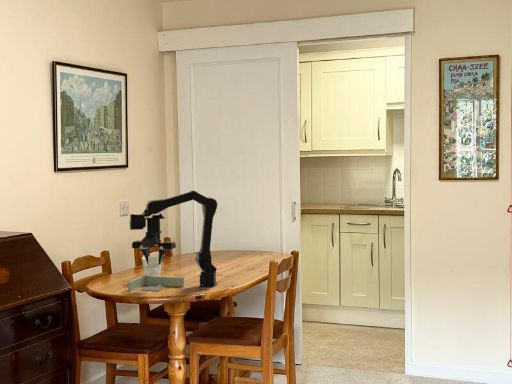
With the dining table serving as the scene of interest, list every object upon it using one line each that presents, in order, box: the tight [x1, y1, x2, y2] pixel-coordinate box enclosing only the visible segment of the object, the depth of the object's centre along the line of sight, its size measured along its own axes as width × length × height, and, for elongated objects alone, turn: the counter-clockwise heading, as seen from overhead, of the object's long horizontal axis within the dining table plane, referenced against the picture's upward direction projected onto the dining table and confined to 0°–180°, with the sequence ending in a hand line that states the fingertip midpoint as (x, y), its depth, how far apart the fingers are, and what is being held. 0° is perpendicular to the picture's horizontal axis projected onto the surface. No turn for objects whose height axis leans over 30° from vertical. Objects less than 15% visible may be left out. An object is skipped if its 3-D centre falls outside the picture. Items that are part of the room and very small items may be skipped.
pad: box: [140, 285, 168, 292], centre depth 298 cm, size 8×11×1 cm
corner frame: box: [127, 275, 185, 292], centre depth 298 cm, size 20×16×4 cm
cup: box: [141, 255, 163, 276], centre depth 316 cm, size 10×10×11 cm
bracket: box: [143, 255, 160, 270], centre depth 295 cm, size 6×5×5 cm
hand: (154, 264), depth 298 cm, fingers closed on bracket, 5 cm apart
